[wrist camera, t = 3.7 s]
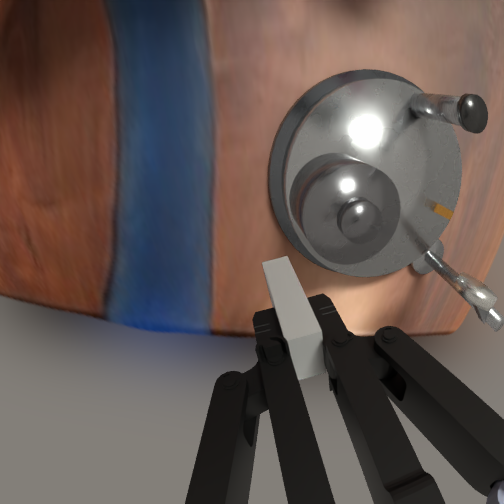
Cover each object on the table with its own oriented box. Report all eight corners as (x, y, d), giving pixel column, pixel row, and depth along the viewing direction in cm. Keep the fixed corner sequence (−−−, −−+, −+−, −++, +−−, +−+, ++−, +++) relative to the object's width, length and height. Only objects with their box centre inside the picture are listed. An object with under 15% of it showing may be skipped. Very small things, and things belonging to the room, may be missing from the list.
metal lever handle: (376, 257, 34) (450, 344, 20) (394, 219, 32) (483, 294, 18) (427, 273, 36) (496, 346, 23) (444, 240, 34) (522, 307, 21)
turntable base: (237, 243, 31) (238, 248, 30) (312, 33, 22) (315, 31, 21) (402, 284, 36) (406, 289, 35) (470, 129, 28) (476, 130, 27)
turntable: (252, 243, 30) (268, 304, 21) (323, 44, 22) (377, 21, 13) (405, 282, 35) (448, 332, 26) (470, 134, 27) (533, 154, 18)
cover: (276, 225, 27) (292, 259, 22) (308, 139, 24) (336, 151, 18) (351, 247, 29) (380, 280, 23) (384, 171, 26) (423, 191, 20)
